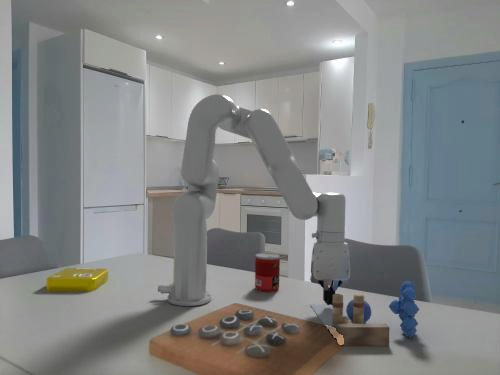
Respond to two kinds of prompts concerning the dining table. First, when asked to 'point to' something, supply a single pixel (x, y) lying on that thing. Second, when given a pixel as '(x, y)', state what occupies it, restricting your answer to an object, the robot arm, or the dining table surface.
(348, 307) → the ball
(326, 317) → the lane mark
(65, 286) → the element tile
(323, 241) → the robot arm
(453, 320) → the dining table surface
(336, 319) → the pin left
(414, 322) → the grapes
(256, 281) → the canned food
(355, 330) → the back wall
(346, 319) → the pin front
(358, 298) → the pin right
